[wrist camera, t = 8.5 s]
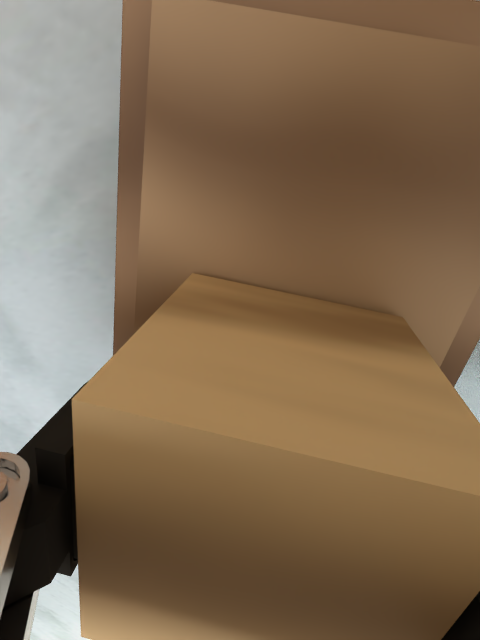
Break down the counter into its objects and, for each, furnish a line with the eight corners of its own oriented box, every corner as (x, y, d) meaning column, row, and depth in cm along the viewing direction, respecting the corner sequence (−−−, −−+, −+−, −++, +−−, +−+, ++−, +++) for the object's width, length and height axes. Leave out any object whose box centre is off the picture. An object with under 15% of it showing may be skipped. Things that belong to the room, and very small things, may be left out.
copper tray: (178, 15, 11) (119, -64, 7) (524, 75, 11) (653, 23, 7) (142, 462, 20) (105, 534, 16) (336, 510, 19) (347, 597, 15)
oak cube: (192, 273, 10) (71, 398, 5) (402, 317, 10) (543, 511, 4) (174, 432, 13) (81, 636, 7) (340, 471, 12) (377, 718, 7)
